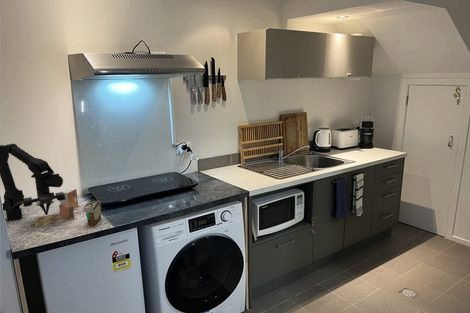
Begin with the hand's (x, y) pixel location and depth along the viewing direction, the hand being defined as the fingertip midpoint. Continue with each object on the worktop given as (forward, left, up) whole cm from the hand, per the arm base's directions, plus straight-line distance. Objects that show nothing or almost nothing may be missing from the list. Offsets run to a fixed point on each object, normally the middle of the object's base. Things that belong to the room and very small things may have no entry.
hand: (46, 214), depth 176 cm
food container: (+19, -15, -4) cm, 25 cm away
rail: (+3, 0, -4) cm, 5 cm away
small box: (+12, +15, -4) cm, 20 cm away
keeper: (+8, 0, -2) cm, 9 cm away
